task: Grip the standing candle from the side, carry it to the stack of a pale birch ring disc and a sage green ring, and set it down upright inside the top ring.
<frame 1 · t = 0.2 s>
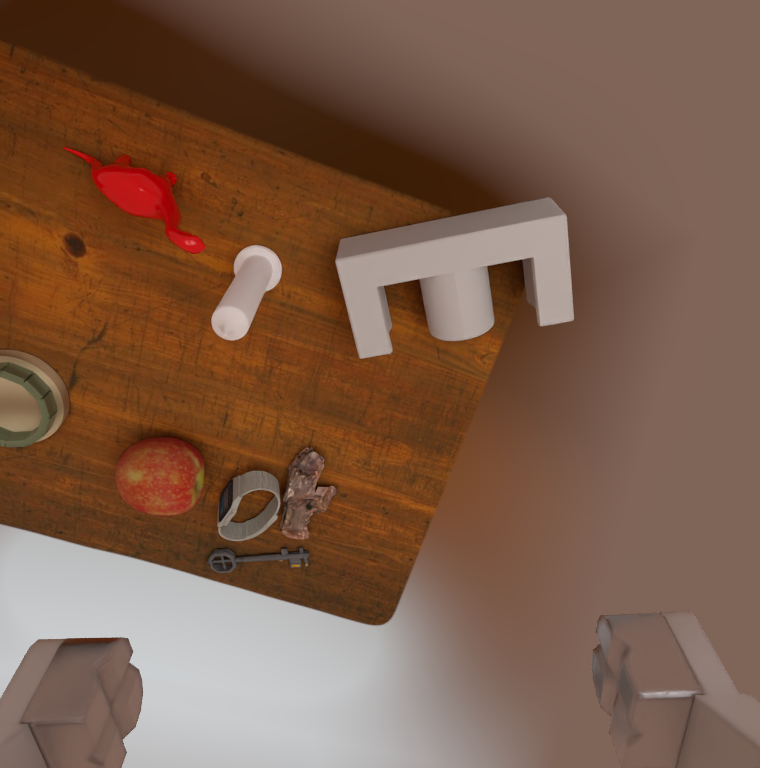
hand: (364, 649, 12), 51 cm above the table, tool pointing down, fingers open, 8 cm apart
dinosaur: (152, 179, 58), on the table
key: (260, 570, 78), on the table
tree bark: (325, 508, 71), point 2 cm above the table
apple: (171, 453, 71), on the table
wristwatch: (252, 495, 73), on the table
candle: (258, 267, 62), on the table
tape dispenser: (451, 266, 61), on the table
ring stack: (19, 394, 67), on the table
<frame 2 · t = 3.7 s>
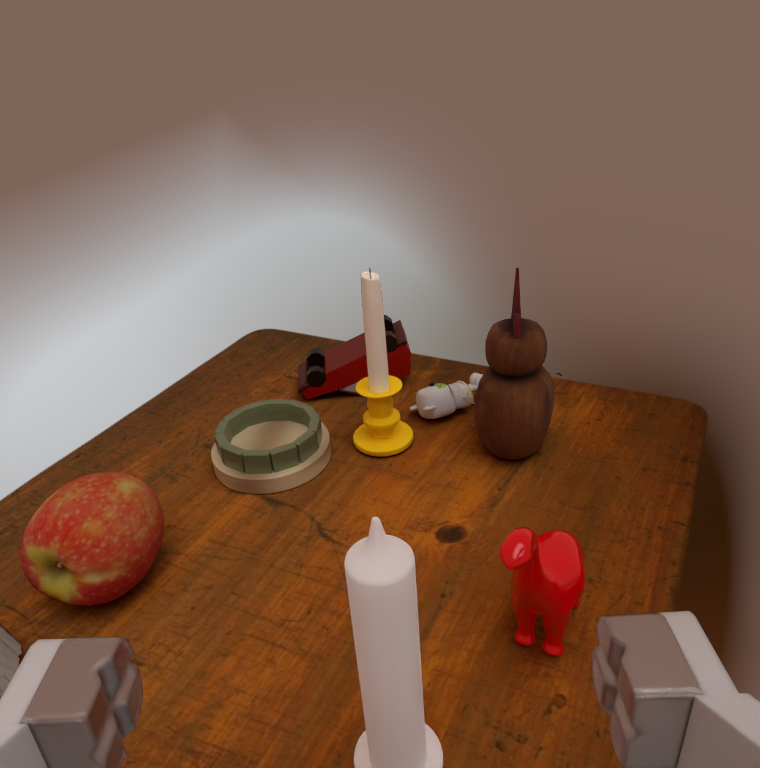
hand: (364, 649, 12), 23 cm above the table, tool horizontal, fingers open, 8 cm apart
wooden figurine: (512, 448, 56), on the table
dinosaur: (545, 630, 39), on the table
toy truck: (342, 342, 64), point 5 cm above the table
toy: (557, 363, 64), point 2 cm above the table
apple: (115, 581, 45), on the table
candle: (398, 763, 33), on the table
candle 2: (383, 441, 58), on the table
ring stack: (273, 457, 57), on the table
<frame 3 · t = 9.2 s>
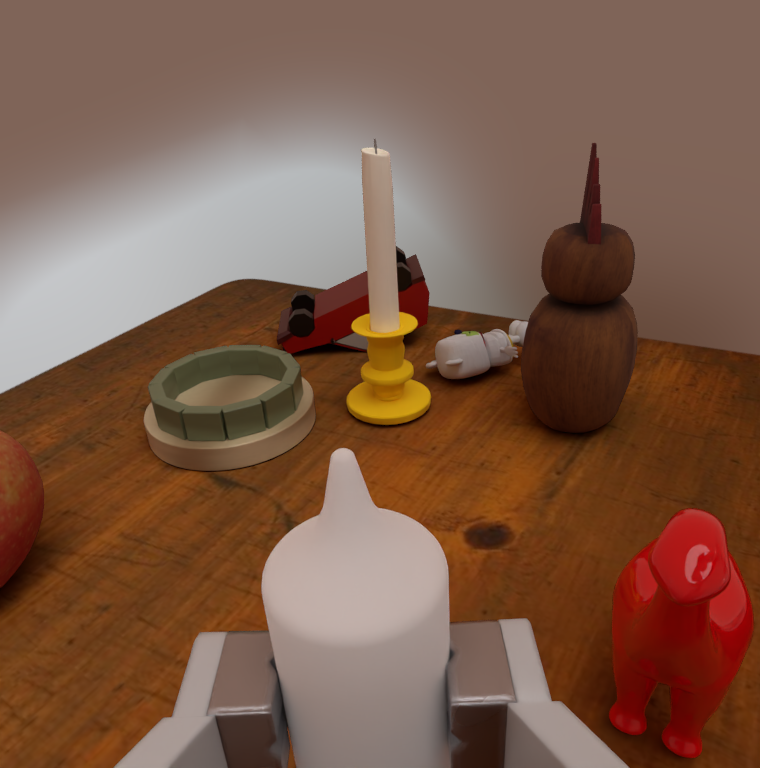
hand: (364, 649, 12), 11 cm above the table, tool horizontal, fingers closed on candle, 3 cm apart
wooden figurine: (572, 419, 39), on the table
dinosaur: (660, 704, 23), on the table
toy truck: (337, 279, 48), point 5 cm above the table
toy: (626, 313, 47), point 2 cm above the table
candle 2: (389, 406, 41), on the table
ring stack: (233, 423, 40), on the table
when the fingers open (13 cm above the table, at t = 19.8 s): candle stays where it is, resting on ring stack.
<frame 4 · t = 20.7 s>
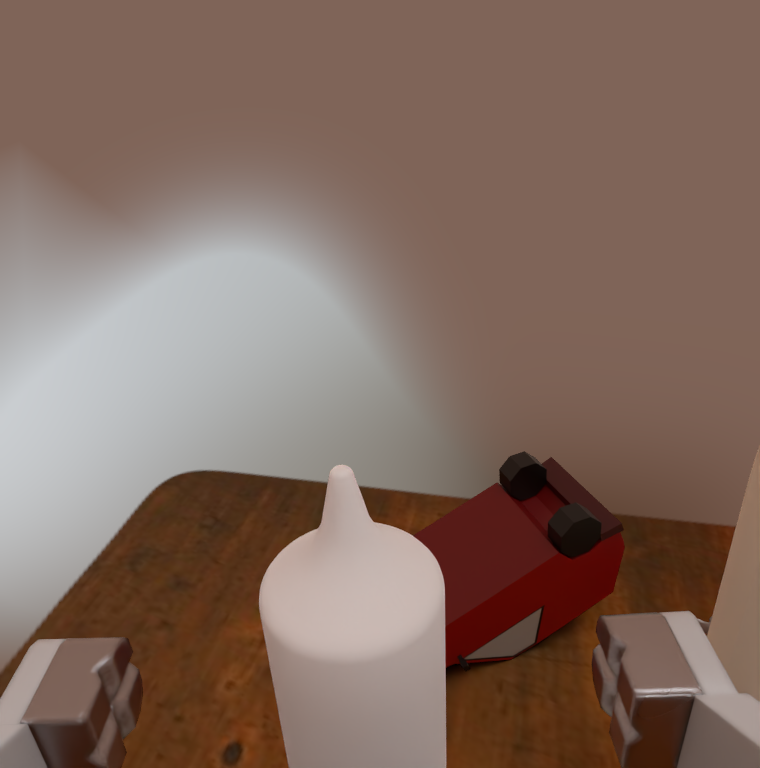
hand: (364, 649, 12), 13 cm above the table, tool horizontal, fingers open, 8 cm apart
toy truck: (450, 539, 26), point 5 cm above the table
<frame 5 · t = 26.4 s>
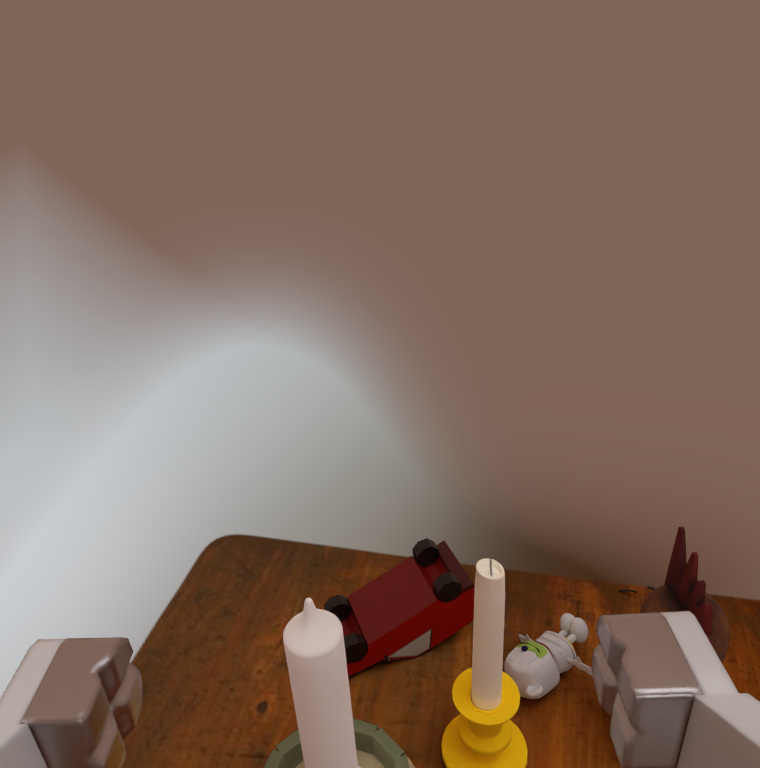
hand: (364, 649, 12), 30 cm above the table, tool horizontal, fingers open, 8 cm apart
wooden figurine: (658, 737, 41), on the table
toy truck: (380, 591, 47), point 5 cm above the table
toy: (646, 574, 51), point 2 cm above the table
candle 2: (483, 754, 41), on the table
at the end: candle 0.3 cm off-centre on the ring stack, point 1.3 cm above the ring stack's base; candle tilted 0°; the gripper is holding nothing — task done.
